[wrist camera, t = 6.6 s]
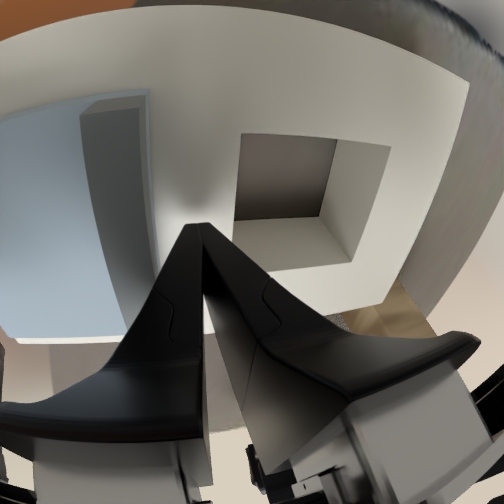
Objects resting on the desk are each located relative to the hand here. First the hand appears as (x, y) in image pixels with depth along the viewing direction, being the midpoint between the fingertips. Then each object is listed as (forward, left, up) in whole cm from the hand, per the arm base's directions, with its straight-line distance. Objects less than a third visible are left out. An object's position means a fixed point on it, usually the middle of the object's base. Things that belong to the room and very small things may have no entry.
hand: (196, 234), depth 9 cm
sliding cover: (0, +5, -1) cm, 5 cm away
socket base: (0, 0, -5) cm, 5 cm away
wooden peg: (-11, -14, -5) cm, 19 cm away
